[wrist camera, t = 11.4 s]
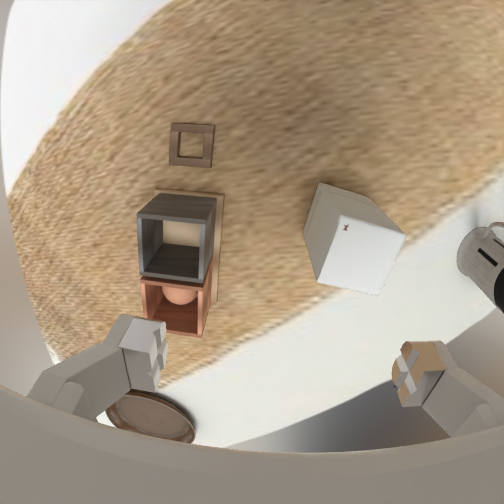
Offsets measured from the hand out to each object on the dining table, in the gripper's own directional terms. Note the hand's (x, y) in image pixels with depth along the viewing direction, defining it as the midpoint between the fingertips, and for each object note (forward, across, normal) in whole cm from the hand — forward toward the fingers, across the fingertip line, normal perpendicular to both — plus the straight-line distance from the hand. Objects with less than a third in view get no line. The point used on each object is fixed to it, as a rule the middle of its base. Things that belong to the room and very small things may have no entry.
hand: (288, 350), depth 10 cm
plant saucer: (+32, +19, +54) cm, 65 cm away
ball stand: (+31, +10, -2) cm, 33 cm away
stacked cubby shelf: (+31, +10, +12) cm, 35 cm away
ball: (+28, +10, +16) cm, 33 cm away
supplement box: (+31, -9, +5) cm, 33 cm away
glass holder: (+31, -33, +5) cm, 46 cm away
